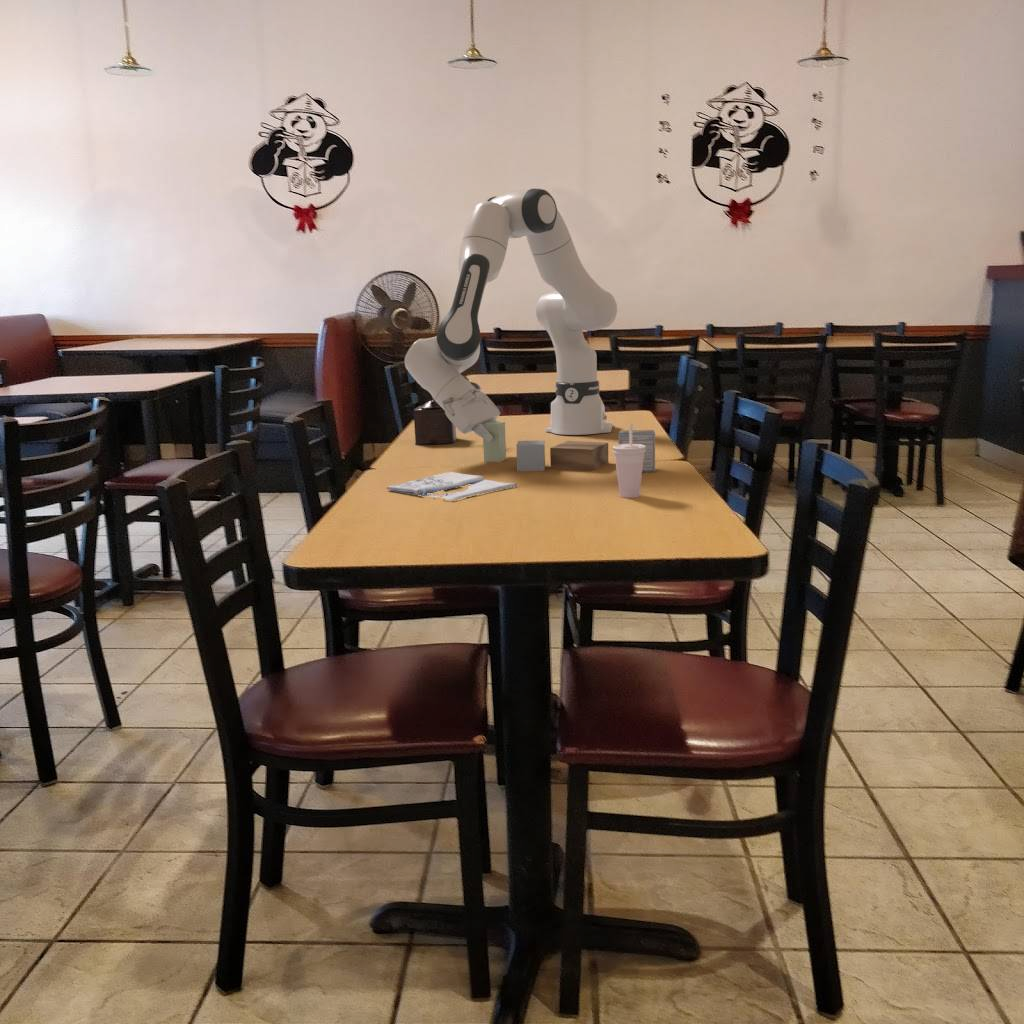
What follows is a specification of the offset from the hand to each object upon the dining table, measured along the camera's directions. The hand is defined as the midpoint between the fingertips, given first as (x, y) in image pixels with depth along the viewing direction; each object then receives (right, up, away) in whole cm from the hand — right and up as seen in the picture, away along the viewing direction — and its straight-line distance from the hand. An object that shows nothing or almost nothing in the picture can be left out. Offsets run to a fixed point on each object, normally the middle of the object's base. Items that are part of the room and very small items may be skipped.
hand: (496, 437), depth 227 cm
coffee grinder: (-15, +1, +33) cm, 36 cm away
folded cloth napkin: (-9, -14, -30) cm, 34 cm away
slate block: (+8, -8, -11) cm, 15 cm away
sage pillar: (0, -5, +1) cm, 5 cm away
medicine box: (+31, -9, -18) cm, 37 cm away
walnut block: (+19, -7, -9) cm, 22 cm away
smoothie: (+26, -15, -43) cm, 52 cm away
